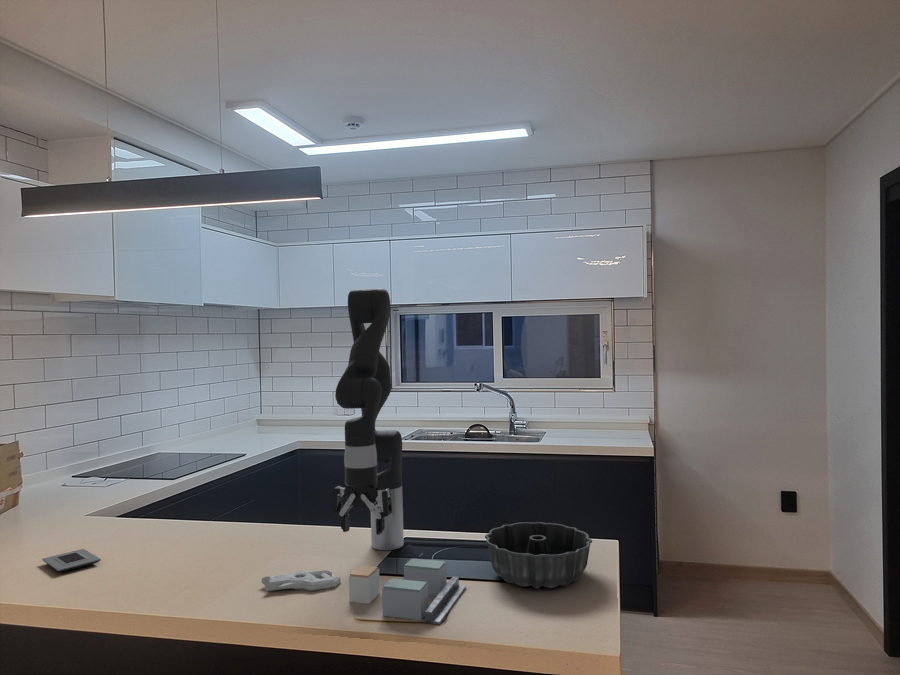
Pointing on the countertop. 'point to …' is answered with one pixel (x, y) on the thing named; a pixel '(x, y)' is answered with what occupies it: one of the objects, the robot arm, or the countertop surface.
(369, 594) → the block
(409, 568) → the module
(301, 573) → the grey flat plastic piece
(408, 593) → the block
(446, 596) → the rail
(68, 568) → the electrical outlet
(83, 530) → the countertop surface
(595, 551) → the countertop surface
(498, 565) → the bundt pan
